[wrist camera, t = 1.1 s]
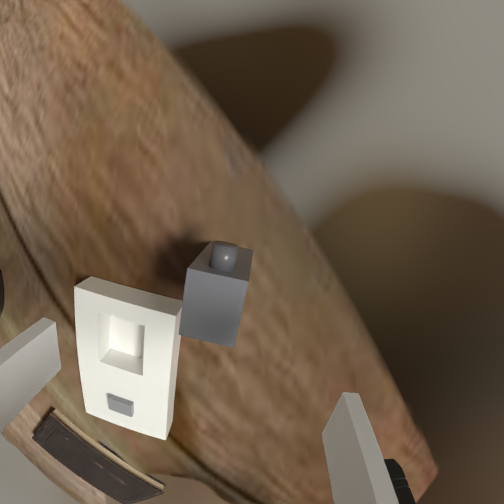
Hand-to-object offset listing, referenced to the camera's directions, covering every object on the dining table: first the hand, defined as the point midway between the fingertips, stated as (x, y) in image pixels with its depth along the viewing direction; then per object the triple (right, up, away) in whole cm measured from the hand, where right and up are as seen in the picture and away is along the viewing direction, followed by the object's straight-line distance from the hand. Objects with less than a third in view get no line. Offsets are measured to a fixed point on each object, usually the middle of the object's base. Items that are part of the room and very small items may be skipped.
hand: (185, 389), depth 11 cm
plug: (0, +4, +17) cm, 17 cm away
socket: (-11, -7, +20) cm, 24 cm away
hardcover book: (-26, -32, +27) cm, 49 cm away
